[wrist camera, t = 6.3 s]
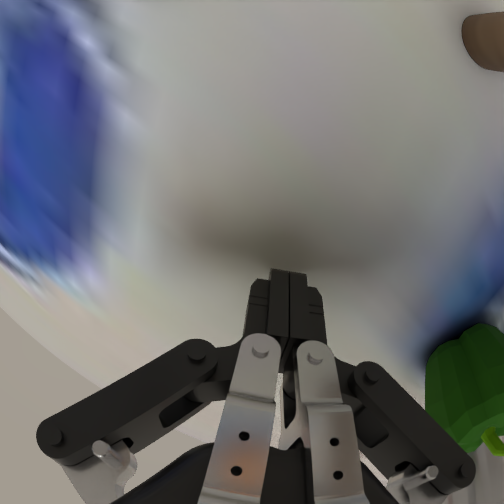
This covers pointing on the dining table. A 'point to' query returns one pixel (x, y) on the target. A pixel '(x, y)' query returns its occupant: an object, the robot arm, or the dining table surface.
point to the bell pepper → (469, 388)
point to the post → (485, 39)
